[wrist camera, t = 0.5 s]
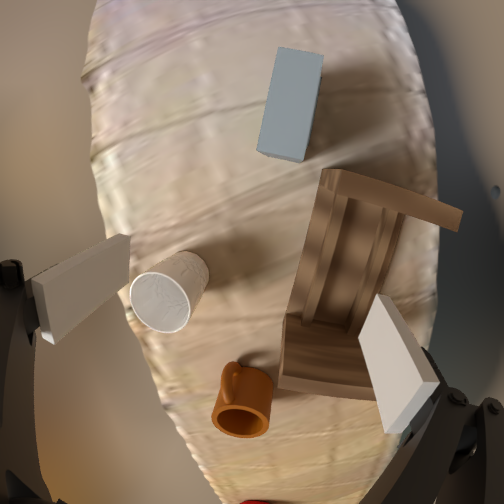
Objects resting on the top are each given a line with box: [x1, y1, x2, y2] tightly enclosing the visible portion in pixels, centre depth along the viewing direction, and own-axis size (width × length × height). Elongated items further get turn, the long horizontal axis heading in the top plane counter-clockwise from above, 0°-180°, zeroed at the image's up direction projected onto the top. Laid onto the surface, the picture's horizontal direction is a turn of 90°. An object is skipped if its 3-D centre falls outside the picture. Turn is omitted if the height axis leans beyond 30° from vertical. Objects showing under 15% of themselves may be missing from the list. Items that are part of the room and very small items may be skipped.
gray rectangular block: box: [256, 47, 324, 163], centre depth 26 cm, size 10×4×12 cm, turn 169°
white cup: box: [130, 251, 209, 333], centre depth 35 cm, size 8×8×10 cm
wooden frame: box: [278, 169, 463, 401], centre depth 30 cm, size 22×12×14 cm, turn 169°
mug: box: [211, 361, 273, 438], centre depth 40 cm, size 9×12×9 cm
